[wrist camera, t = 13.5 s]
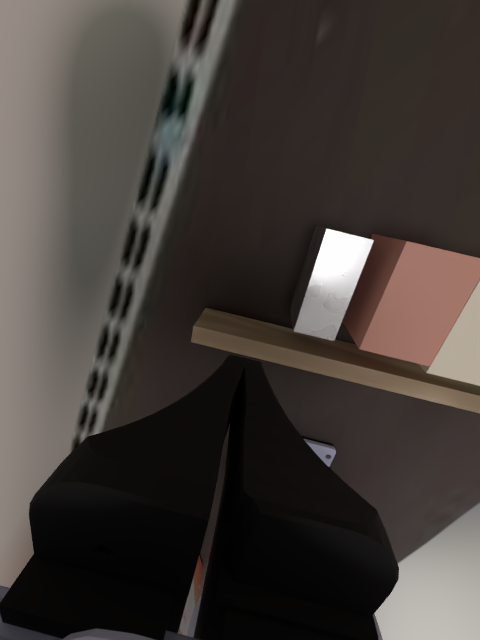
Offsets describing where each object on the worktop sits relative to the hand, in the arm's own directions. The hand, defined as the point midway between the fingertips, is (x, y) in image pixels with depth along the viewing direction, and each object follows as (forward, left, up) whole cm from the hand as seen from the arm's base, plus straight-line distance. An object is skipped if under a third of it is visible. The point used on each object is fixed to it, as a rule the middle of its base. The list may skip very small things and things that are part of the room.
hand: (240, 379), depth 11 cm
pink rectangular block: (+3, -8, -10) cm, 13 cm away
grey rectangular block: (+3, -4, -10) cm, 11 cm away
